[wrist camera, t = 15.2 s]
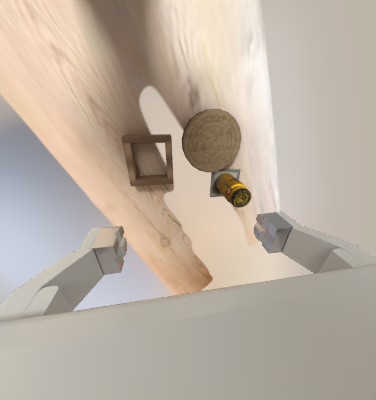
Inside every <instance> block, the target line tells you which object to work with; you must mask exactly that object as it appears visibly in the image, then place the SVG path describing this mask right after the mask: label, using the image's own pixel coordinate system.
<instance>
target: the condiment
mask: <svg viewBox="0 0 376 400" xmlns="http://www.w3.org/2000/svg"><path fill="white" fill-rule="evenodd" d="M237 174H238V173H234V172H223V171H216V173H215V178H214V182H213V187H212V191H211V196H224V197H225V198H226V199H227V201H228V202H230V203H232V204H233V205H234V206H235V207H243V206H245V205H247V204H248V203H249V201H250V199H251V193H250V192H249V191H248V190H247V188H246V186H245V185H244V184H242V183H241V182H240V181H239V180H237V179H236V177H237Z"/></svg>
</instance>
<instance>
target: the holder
mask: <svg viewBox="0 0 376 400" xmlns="http://www.w3.org/2000/svg"><path fill="white" fill-rule="evenodd" d="M122 141H123V146H124V151H125V157H126V162H127V167H128V173H129V178H130V183H131V186H141V185H159V184H173V165H172V164H173V163H172V142H171V135H124V136H122ZM160 142H161V143H163V142H165V145H166V160H167V161H166V162H167V175H154V176H137V170H136V164H135V158H134V151H133V145H132V143H160Z"/></svg>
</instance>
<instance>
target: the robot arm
mask: <svg viewBox="0 0 376 400" xmlns="http://www.w3.org/2000/svg"><path fill="white" fill-rule="evenodd" d="M256 220H257V223H256V224H255V226H254V234H255V236H256V238H257V239H258V240H259V241H261V242H262V245H263V247H264V248H265V249H266V251H268V253H277V252H282V253H283V254H285V255H286V256H288V257H289V258H291V259H293V260H294V261H296V262H297V263H299V264H300V265H302V266H304V267H305V268H307V269H308V270H310V271H311V272H313V273H314V274H309V275H303V276H297V277H291V278H284V279H277V280H271V281H265V282H258V283H252V284H246V285H239V286H232V287H227V288H219V289H213V290H207V291H200V292H193V293H187V294H180V295H174V296H168V297H161V298H155V299H148V300H142V301H135V302H129V303H122V304H116V305H110V306H103V307H97V308H90V309H84V310H77V311H73V310H74V309H75V307H76V306H77V305H78V304H79V303H80V302H81V301H82V300H83V298H84V297H85V296H86V295H87V294H88V293H89V292H90V291H91V289H92V288H93V287H94V286H95V285H96V284H97V283H98V282H99V281H100V279H101V278H102V277H103V275H106V274H113V273H119V272H121V271H122V267H123V263H124V260H123V257H124V256H125V255H126V251H127V242H126V238H125V237H124V236H123V234H124V230H123V227H122V226H115V227H103V228H93V229H91V230H90V231H89V233H88V235H87V236H86V238H85V239H84V241H83V242H82V244H81V246H80V247H79V249H78V250H77V251H73V252H71V253H70V254H68V255H67V256H65V257H64V258H62V259H61V260H59V261H58V262H56V263H55V264H53V265H52V266H50V267H49V268H47V269H46V270H44V271H43V272H41V273H40V274H38V275H37V276H35V277H33V278H32V279H30V280H29V281H28V282H26V283H25V284H23V285H21V286H20V287H18V288H17V289H15V290H14V291H13V292H12V293H11V295H10V296H9V297H8V298H7V299H6V300H5V302H4V303H3V304H2V305H1V306H0V400H376V258H375V257H374V256H372V255H371V254H369V253H368V252H366V251H365V250H363V249H362V248H360V247H359V246H357V245H354V244H352V243H349V242H346V241H344V240H341V239H338V238H335V237H333V236H330V235H327V234H325V233H321V232H319V231H316V230H314V229H311V228H308V227H305V226H301V225H300V224H298V223H297V222H296V221H295V220H293V219H292V218H291V217H289V216H288V215H287V214H286V213H284V212H274V213H264V214H258V216H257V218H256Z"/></svg>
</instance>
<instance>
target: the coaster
mask: <svg viewBox="0 0 376 400" xmlns="http://www.w3.org/2000/svg"><path fill="white" fill-rule="evenodd" d="M218 171H223V172H234V173H238V174H237V177H236V179H237V180H239V175H240V169H227V170H218ZM215 173H216V172H212V176H211V189H210V197H218V196H211V191H212V187H213V182H214V178H215Z"/></svg>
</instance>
